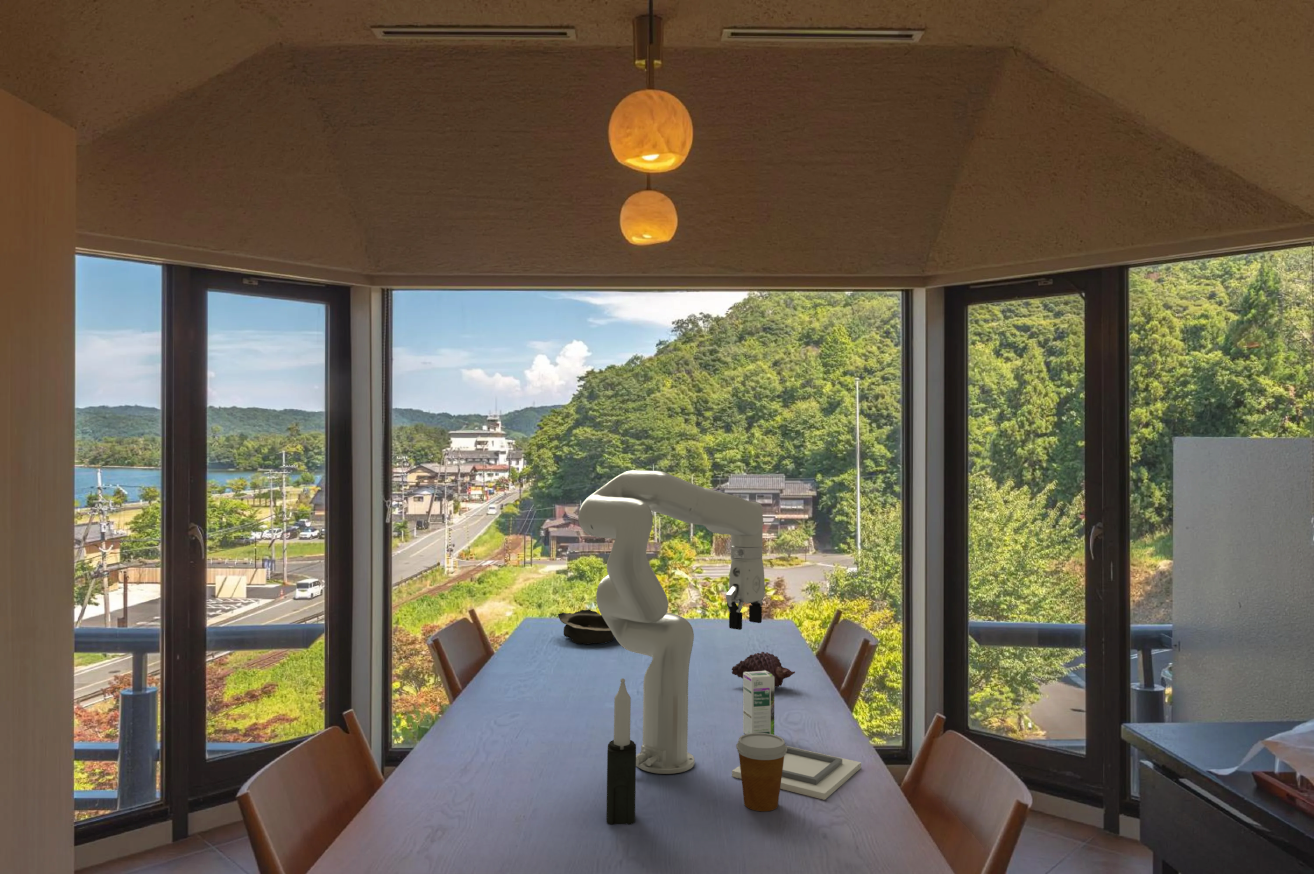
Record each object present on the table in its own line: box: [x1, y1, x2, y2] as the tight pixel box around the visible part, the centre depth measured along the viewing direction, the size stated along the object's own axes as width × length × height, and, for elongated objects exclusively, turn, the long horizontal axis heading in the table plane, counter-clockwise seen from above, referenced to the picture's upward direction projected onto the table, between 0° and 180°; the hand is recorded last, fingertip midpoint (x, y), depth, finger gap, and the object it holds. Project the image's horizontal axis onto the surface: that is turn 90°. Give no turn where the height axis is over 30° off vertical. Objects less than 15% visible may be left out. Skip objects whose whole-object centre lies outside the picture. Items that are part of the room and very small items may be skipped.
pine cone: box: [731, 651, 796, 689], centre depth 238 cm, size 18×10×10 cm, turn 83°
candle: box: [605, 678, 637, 825], centre depth 152 cm, size 5×5×25 cm
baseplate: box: [731, 745, 862, 801], centre depth 174 cm, size 20×20×2 cm
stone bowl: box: [557, 609, 615, 645], centre depth 296 cm, size 25×25×9 cm
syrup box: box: [742, 671, 775, 735], centre depth 197 cm, size 6×6×14 cm
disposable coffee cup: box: [735, 733, 787, 812], centre depth 158 cm, size 10×10×12 cm
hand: (745, 625), depth 201 cm, fingers open, 9 cm apart
